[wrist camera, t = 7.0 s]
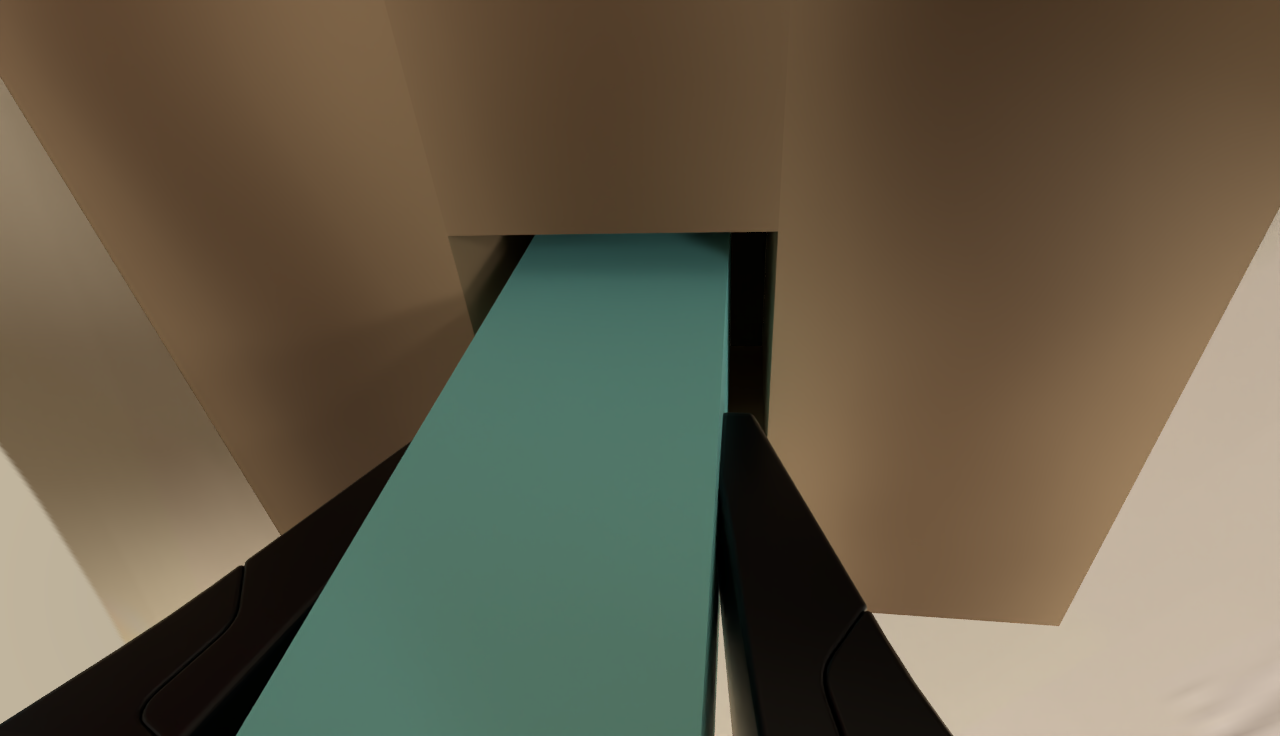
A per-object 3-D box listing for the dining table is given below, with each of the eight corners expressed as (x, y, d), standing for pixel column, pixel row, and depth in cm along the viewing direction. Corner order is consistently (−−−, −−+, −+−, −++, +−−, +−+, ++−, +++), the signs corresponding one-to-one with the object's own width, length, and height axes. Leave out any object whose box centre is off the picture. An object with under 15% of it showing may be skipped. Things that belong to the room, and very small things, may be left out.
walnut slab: (1217, -161, 9) (1485, -182, 6) (997, 475, 16) (1059, 625, 13) (162, -64, 11) (-71, -39, 8) (380, 451, 18) (303, 572, 15)
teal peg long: (731, 208, 11) (684, 1020, 3) (729, 360, 13) (698, 1108, 5) (549, 211, 12) (122, 925, 4) (573, 357, 14) (324, 1038, 6)
